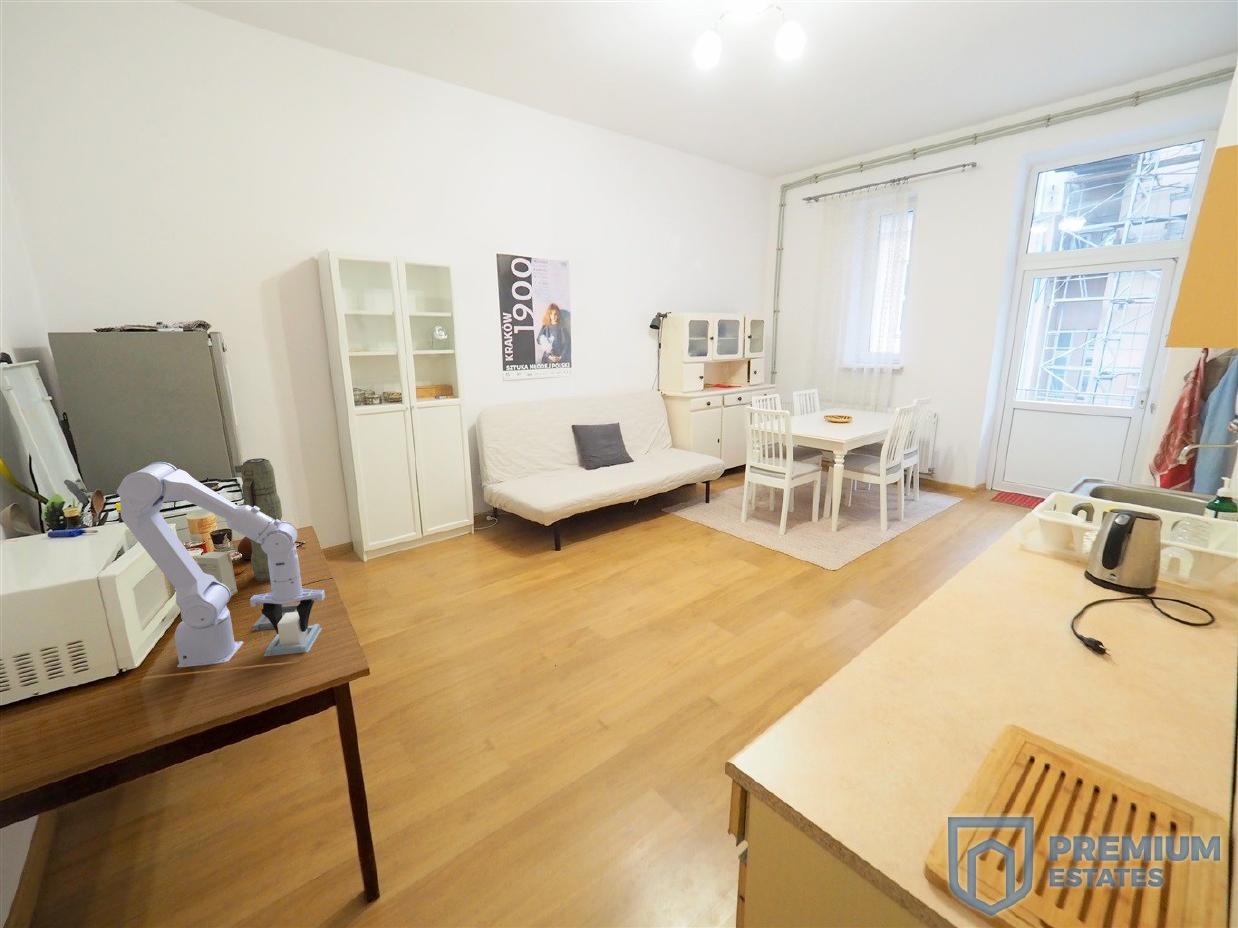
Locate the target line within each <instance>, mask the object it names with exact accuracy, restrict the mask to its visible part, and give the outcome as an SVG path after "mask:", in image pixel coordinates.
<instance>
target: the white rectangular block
mask: <svg viewBox="0 0 1238 928" xmlns="http://www.w3.org/2000/svg"><path fill="white" fill-rule="evenodd" d="M277 626H278V633H279V639H280V646H286V645H296V644H302V642H303V641H304V639H305V638H306V636H307V634H308V632H307V629H306V631H305V632H302V631H301V625H300V618H299V614H298V612H290V613H285V615H284V616H283V617H282V619H281V620H280V621H279V623H278V624H277Z"/></svg>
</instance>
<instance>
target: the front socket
mask: <svg viewBox="0 0 1238 928" xmlns="http://www.w3.org/2000/svg"><path fill="white" fill-rule="evenodd" d="M322 630H323V628H322V627H321V625H320V623H314V624H313V625H308V628H307V632H308V634H307V636H306V638H305V639H304V641H303V642H302V644H296V645H286V646H280V639H279V634H277V633H276V635H275V637H274V638H273V640H272V641H271V642H270V644H269V645H268V646H267V648H266V650H265V651H264V655H263V657H270V656H279V655H280V656H283V655H291V654H298V653H299V654H301V653H309V652H310V650H311V648H312V646H313V645H314V644H315V642H316V640H317V638H318V636H319V634H321V631H322Z"/></svg>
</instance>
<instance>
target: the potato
mask: <svg viewBox="0 0 1238 928" xmlns="http://www.w3.org/2000/svg"><path fill="white" fill-rule="evenodd" d="M238 552H239V553H241V554H242V558H241V559H243V560H249V559H250V560H251V555H252V546H251V539H250V538H248V537H246V536H244V537H243V538H242V539H241V540H240V541H239V543H238V545H237V552H236V553H238Z"/></svg>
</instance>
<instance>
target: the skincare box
mask: <svg viewBox="0 0 1238 928" xmlns="http://www.w3.org/2000/svg"><path fill="white" fill-rule="evenodd" d="M231 555H232V554H231V552H229V551H208V552H206V553H203V554H201V555H199V556H197V557H196V561H197V562H196V563H197V564H198V566H199V567H200V568H201V570H202V571H203V572H204V573H205V574H209V575H212V576H214V577H215V579H216V580H217V581H218V582H220V583H222V584H224V585H226V586H227V587H228V588H229V590H230V592H231V597H232V596H234V595H235V594H237V593H238V588H237V581H236V577H235V572H234V566H233V562H232V556H231Z"/></svg>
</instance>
